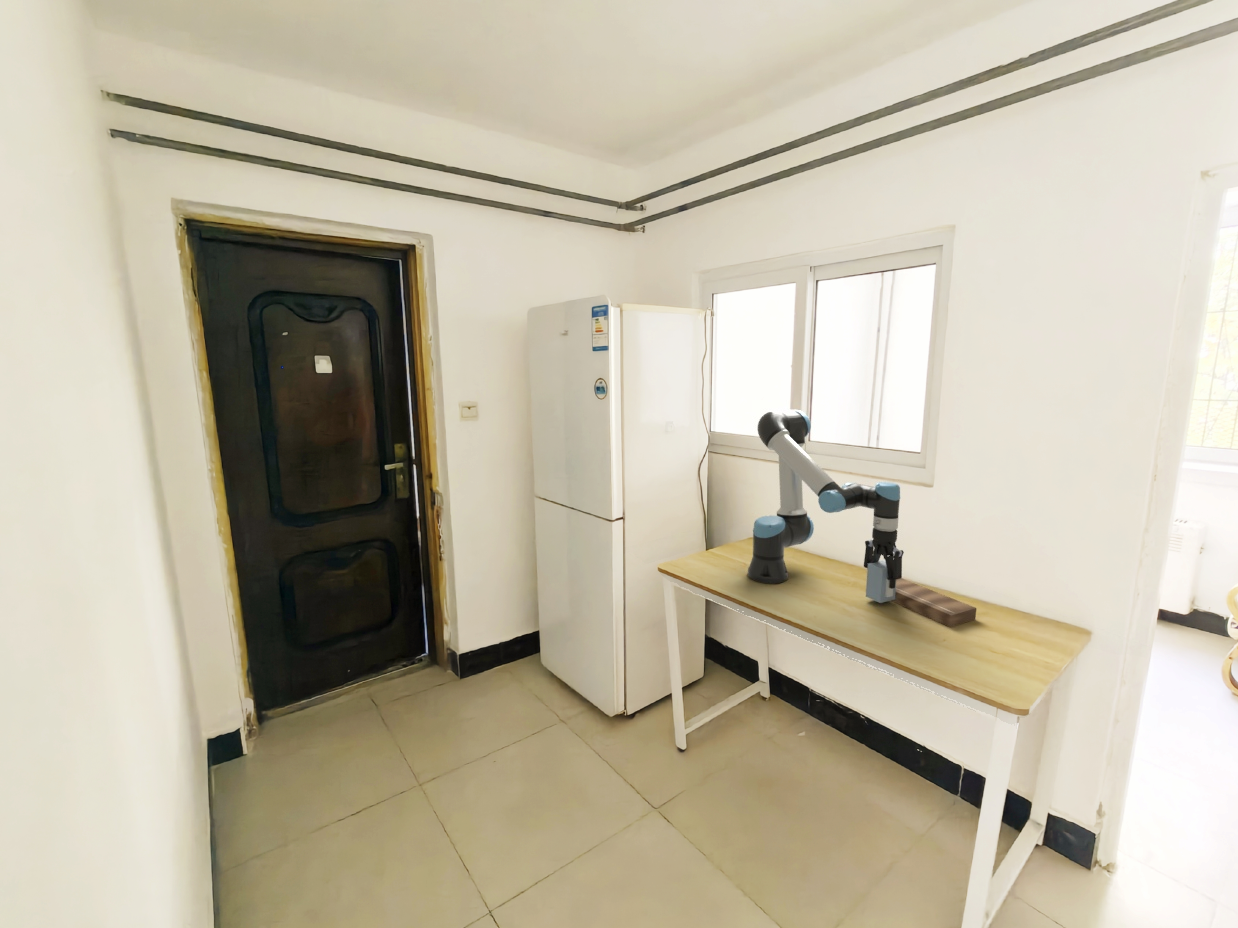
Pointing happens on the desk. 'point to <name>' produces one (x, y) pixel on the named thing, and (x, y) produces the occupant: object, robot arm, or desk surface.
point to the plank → (933, 604)
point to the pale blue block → (878, 582)
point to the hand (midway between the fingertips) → (880, 592)
